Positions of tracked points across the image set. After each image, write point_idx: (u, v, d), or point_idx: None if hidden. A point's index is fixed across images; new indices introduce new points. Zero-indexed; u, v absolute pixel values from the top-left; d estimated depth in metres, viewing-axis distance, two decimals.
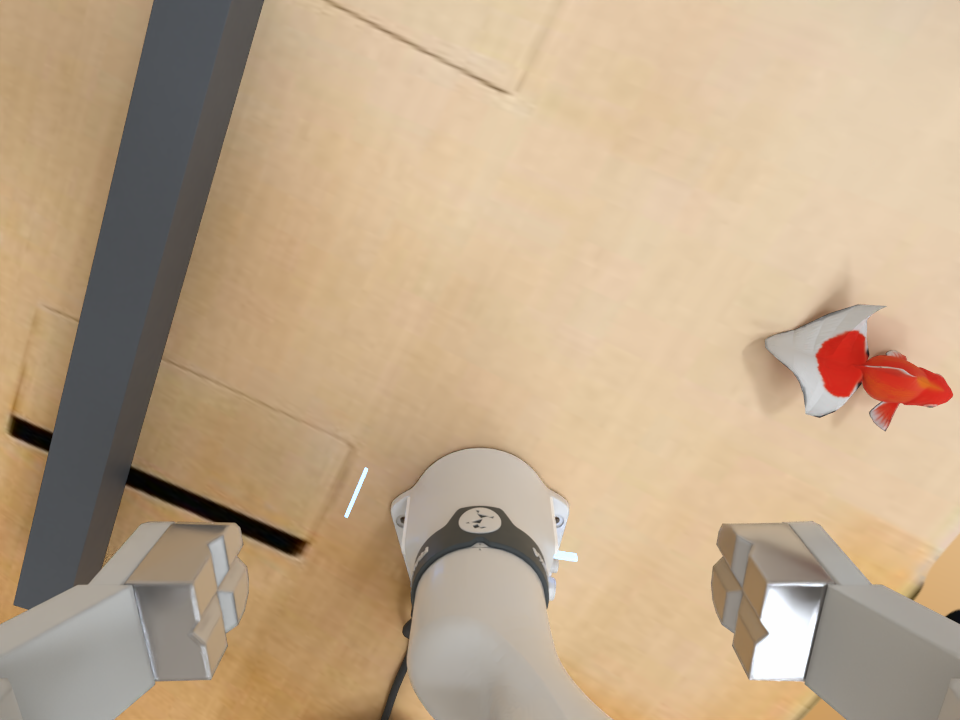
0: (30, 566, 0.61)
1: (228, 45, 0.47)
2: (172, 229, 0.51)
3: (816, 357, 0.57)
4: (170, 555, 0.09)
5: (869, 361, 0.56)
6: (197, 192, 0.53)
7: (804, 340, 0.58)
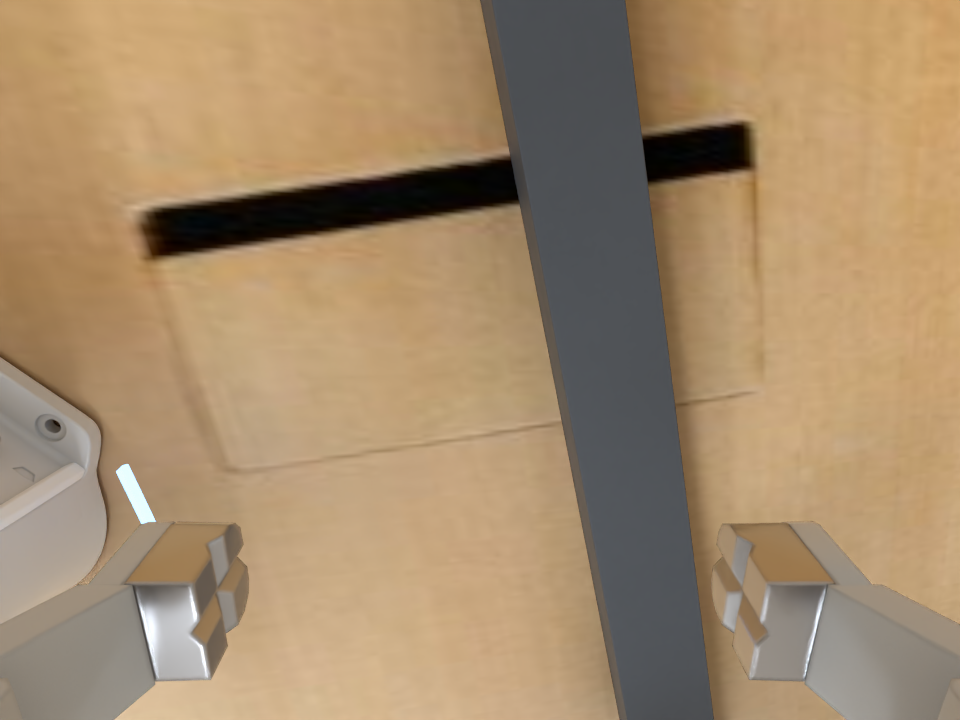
0: None
1: None
2: (618, 679, 0.37)
3: None
4: (170, 555, 0.09)
5: None
6: (613, 675, 0.41)
7: None
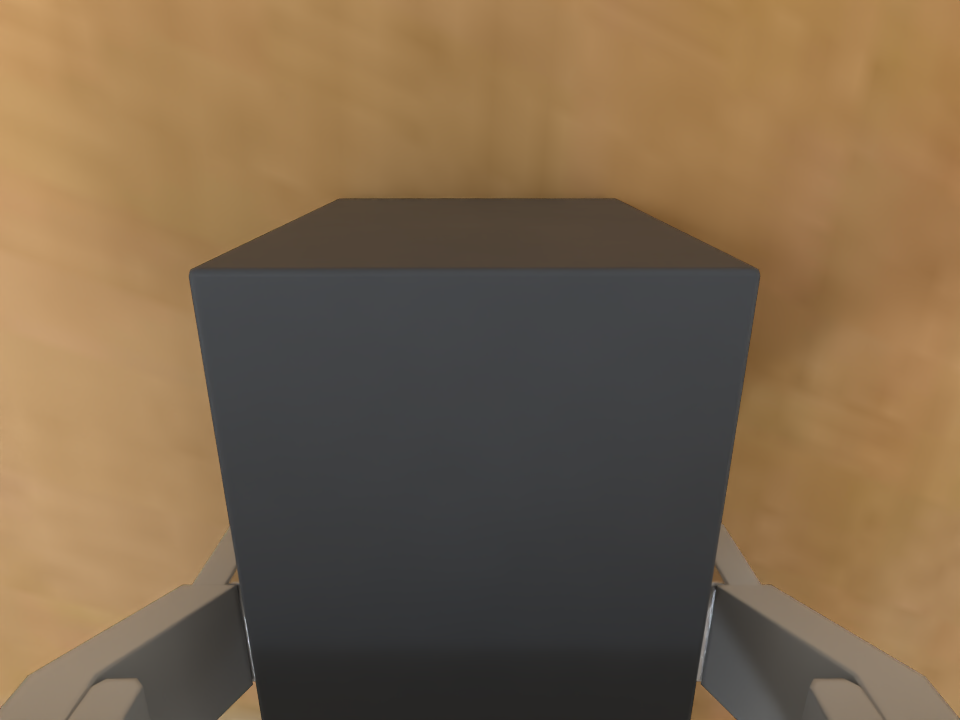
0: None
1: None
2: None
3: None
4: None
5: None
6: None
7: None
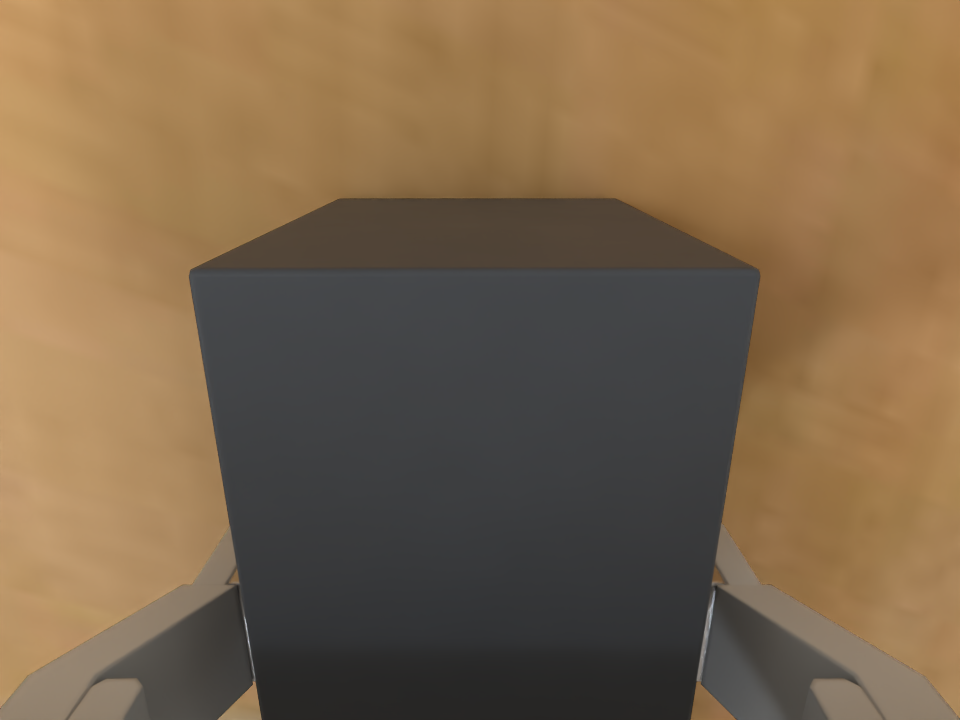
0: None
1: None
2: None
3: None
4: None
5: None
6: None
7: None
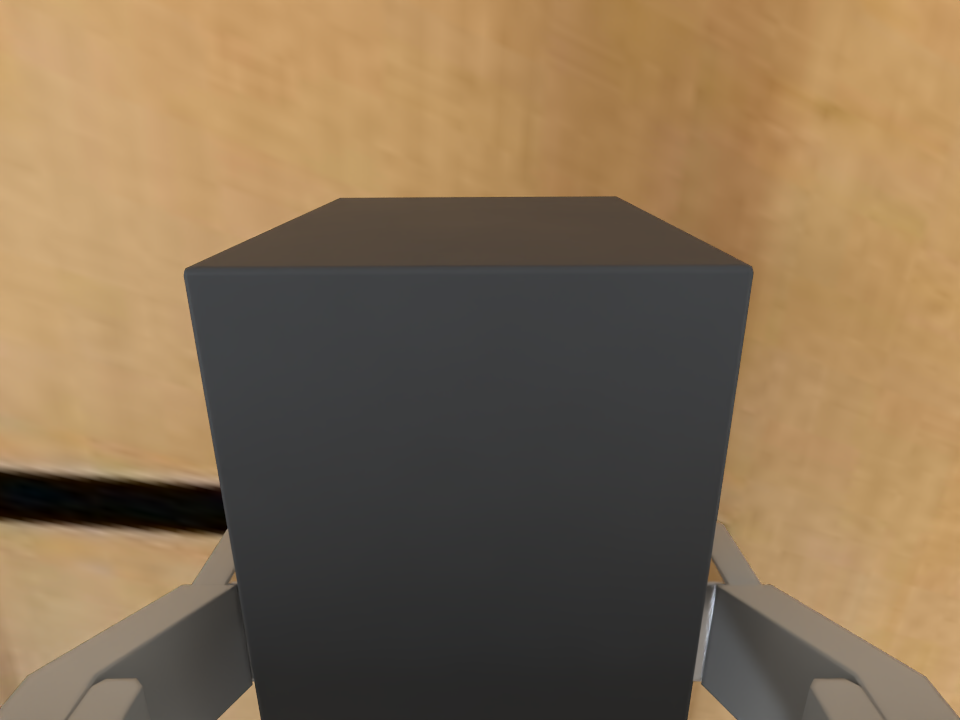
0: None
1: None
2: None
3: None
4: None
5: None
6: None
7: None
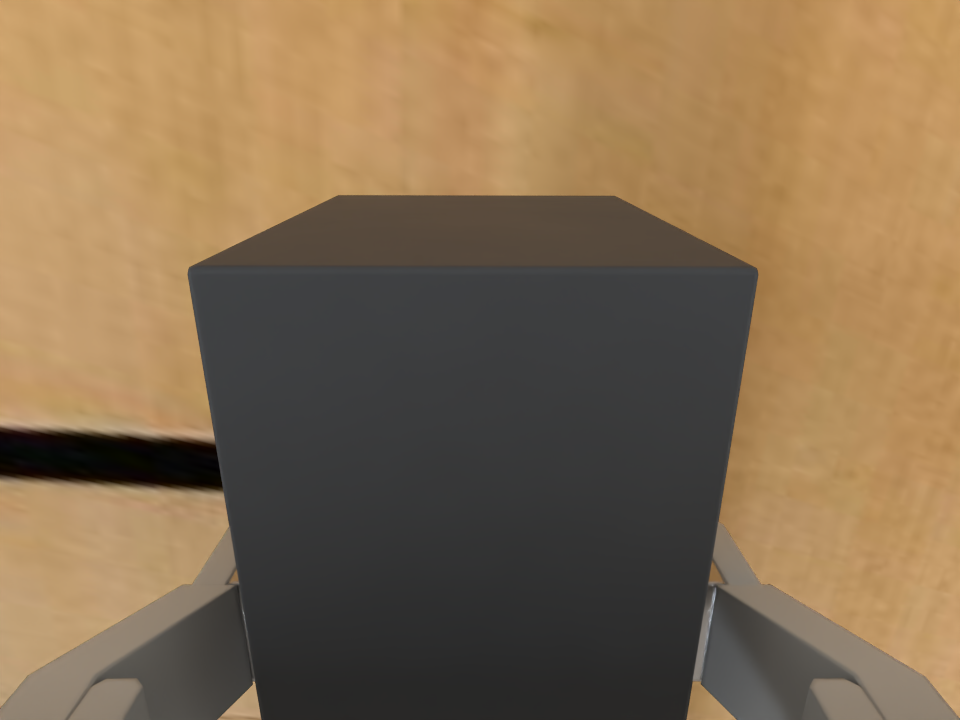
0: None
1: None
2: None
3: None
4: None
5: None
6: None
7: None
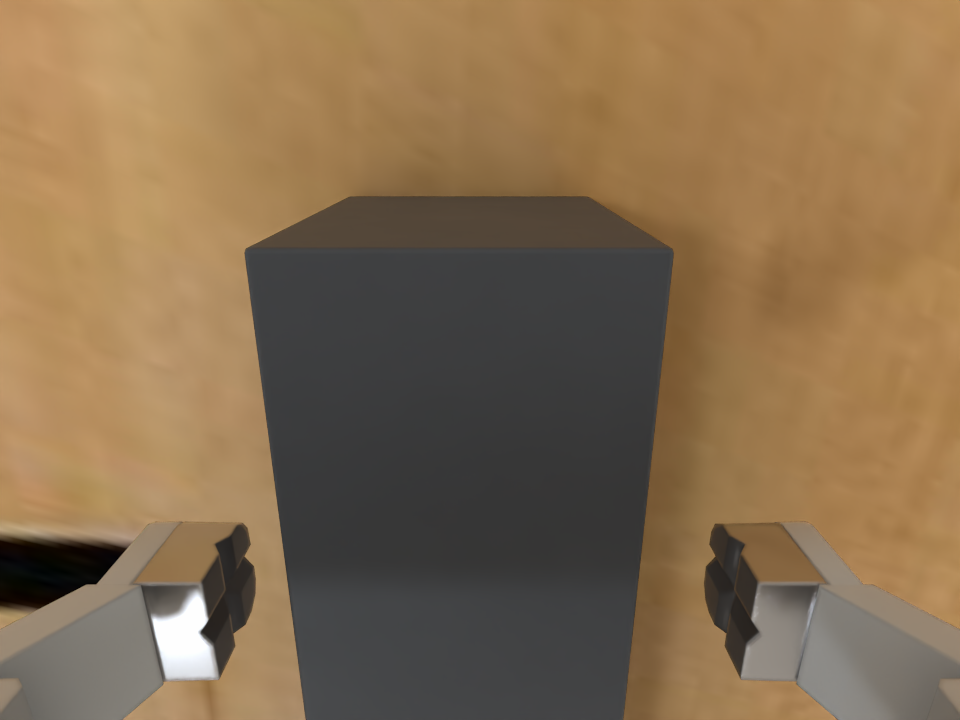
0: (583, 622, 0.09)
1: None
2: None
3: None
4: (178, 555, 0.09)
5: None
6: None
7: None
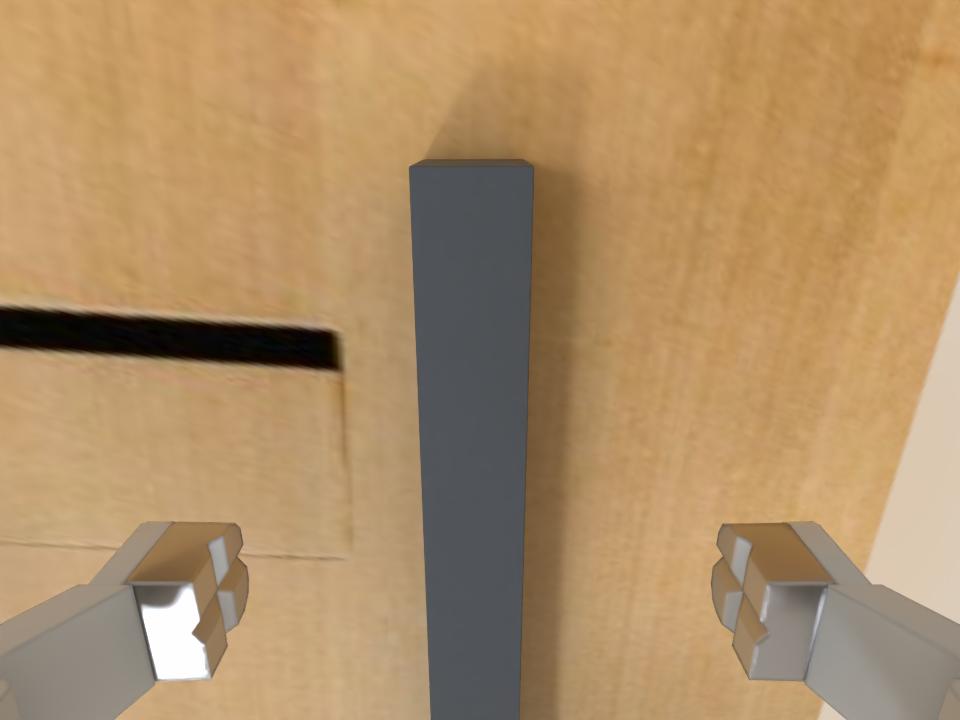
0: (513, 298, 0.27)
1: None
2: None
3: None
4: (170, 555, 0.09)
5: None
6: None
7: None
